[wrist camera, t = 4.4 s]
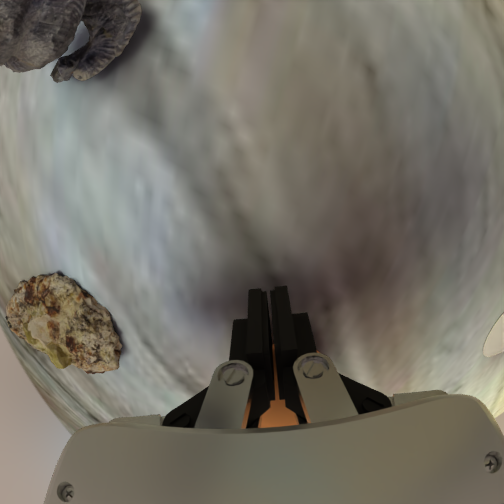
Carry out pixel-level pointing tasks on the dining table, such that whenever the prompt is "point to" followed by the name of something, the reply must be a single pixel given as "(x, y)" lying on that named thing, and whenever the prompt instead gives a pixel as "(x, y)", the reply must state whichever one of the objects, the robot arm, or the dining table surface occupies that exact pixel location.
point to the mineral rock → (64, 324)
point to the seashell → (65, 34)
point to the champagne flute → (495, 339)
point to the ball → (277, 407)
